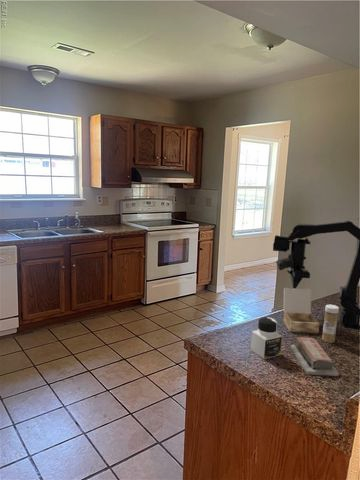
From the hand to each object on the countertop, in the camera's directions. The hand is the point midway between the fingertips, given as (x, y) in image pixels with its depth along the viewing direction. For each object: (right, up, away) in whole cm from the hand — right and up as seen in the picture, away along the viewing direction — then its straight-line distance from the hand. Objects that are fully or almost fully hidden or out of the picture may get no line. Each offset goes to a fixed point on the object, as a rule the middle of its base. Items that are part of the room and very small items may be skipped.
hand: (294, 288), depth 149 cm
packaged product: (-6, -19, -36) cm, 41 cm away
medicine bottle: (-21, -18, -32) cm, 42 cm away
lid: (0, -5, -5) cm, 7 cm away
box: (-1, -14, -10) cm, 18 cm away
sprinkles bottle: (+6, -17, -21) cm, 27 cm away
